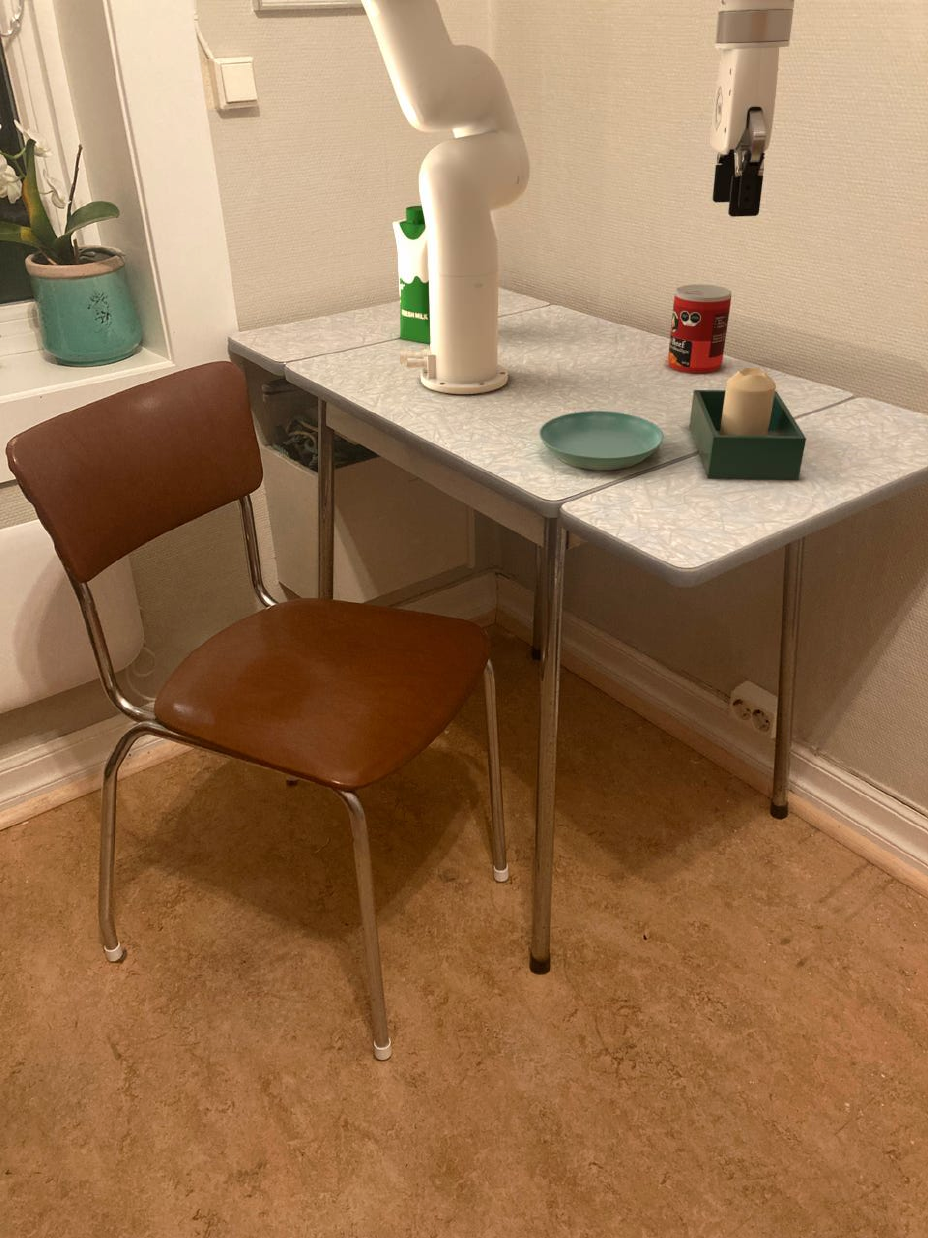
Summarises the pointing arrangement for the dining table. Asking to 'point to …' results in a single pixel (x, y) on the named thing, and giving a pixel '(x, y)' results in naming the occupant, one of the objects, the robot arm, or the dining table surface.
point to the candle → (748, 403)
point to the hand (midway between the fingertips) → (734, 208)
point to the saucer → (601, 439)
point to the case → (746, 442)
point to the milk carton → (413, 276)
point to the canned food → (699, 328)
